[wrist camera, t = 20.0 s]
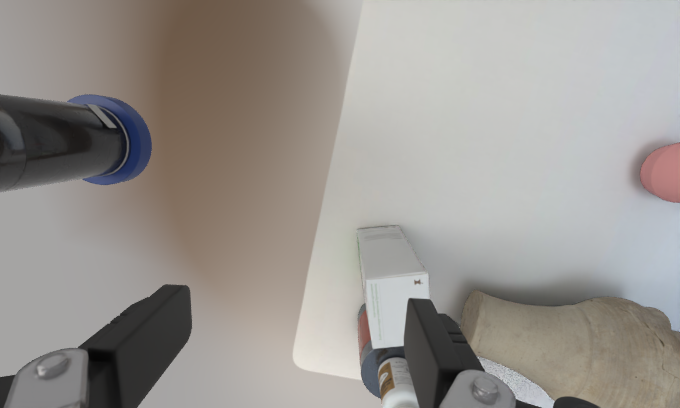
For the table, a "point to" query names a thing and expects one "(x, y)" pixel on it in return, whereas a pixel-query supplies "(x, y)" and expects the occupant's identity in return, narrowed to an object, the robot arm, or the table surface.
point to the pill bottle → (396, 384)
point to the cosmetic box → (389, 282)
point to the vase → (581, 348)
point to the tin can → (372, 354)
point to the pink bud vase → (663, 173)
